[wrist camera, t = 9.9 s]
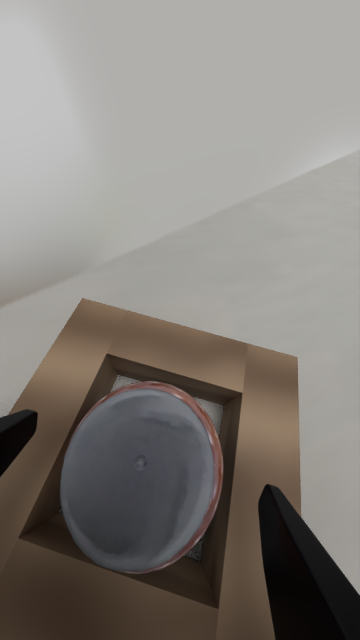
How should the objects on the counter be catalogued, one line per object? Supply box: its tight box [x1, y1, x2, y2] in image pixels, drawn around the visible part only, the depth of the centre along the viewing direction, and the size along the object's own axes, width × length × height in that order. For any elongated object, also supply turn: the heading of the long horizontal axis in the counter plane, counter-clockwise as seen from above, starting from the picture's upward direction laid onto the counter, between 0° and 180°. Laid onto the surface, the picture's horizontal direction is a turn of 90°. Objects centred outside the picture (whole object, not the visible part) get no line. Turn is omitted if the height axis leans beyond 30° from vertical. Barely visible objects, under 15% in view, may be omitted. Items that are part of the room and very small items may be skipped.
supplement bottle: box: [60, 381, 223, 574], centre depth 10 cm, size 6×6×11 cm
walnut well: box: [0, 298, 301, 640], centre depth 13 cm, size 16×16×4 cm
